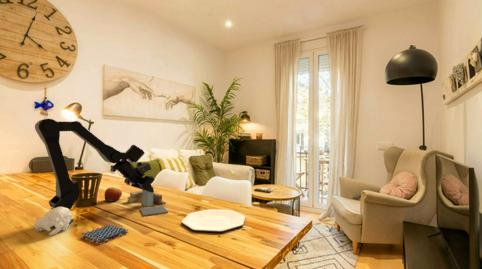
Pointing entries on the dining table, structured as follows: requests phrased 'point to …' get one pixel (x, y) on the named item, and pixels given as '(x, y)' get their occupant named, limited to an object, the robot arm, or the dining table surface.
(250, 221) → the dining table surface
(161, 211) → the felt pad
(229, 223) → the plate
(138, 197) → the offcut stack
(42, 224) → the animal skull
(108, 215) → the dining table surface
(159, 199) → the brown wooden block
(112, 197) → the fruit
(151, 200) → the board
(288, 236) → the dining table surface
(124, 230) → the woven mat
